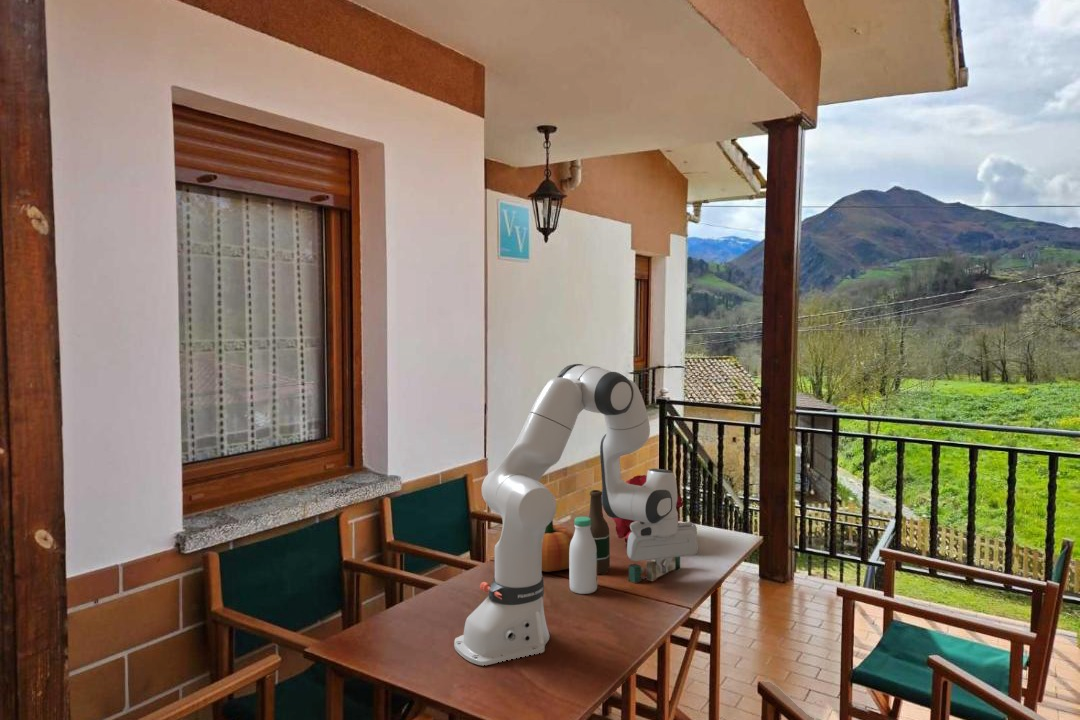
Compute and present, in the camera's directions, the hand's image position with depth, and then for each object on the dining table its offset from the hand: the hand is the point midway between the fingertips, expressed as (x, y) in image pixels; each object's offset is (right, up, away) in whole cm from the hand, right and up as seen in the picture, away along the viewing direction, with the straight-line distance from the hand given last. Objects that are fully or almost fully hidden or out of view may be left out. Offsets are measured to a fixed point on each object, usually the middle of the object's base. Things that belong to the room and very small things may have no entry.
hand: (663, 572), depth 192 cm
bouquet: (+2, -1, +30) cm, 30 cm away
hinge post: (+6, -2, +10) cm, 12 cm away
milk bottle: (-23, -4, -5) cm, 24 cm away
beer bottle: (-18, -3, +10) cm, 21 cm away
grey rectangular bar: (0, -2, +4) cm, 5 cm away
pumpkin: (-32, -3, +14) cm, 36 cm away
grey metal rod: (-1, -2, +5) cm, 6 cm away
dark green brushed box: (-8, -3, +1) cm, 8 cm away
